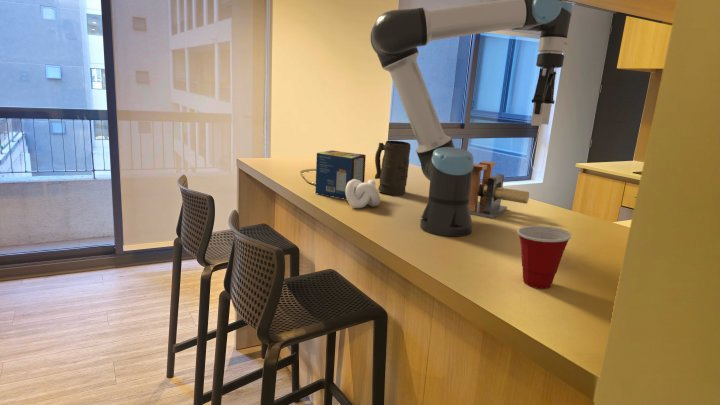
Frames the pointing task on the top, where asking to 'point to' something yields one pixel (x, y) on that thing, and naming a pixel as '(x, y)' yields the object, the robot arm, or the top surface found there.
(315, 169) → the beaded necklace
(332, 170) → the protein box
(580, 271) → the top surface
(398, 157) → the beer stein
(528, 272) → the plastic cup
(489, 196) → the wooden stand
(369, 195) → the white knot sculpture
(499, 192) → the tube
